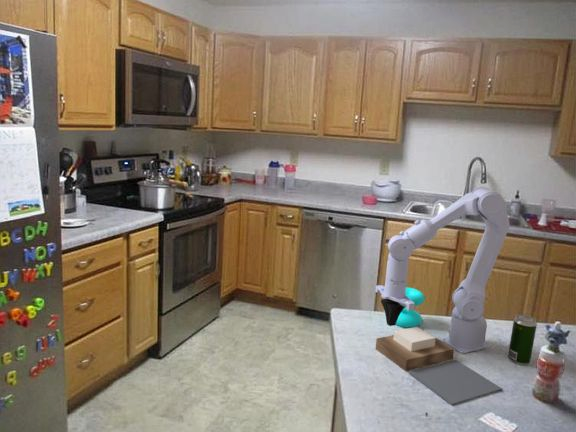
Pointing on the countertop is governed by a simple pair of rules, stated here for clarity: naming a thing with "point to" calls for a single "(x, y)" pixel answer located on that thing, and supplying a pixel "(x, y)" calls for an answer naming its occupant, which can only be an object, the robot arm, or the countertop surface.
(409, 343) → the tile
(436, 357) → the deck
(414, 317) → the donuts
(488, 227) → the robot arm
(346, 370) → the countertop surface
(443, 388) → the mat
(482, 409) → the countertop surface
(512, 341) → the beer can
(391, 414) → the countertop surface
